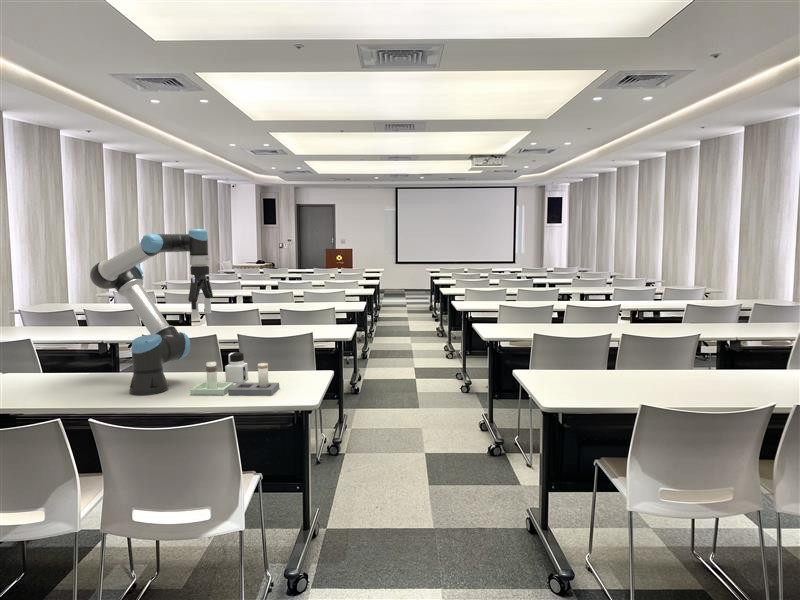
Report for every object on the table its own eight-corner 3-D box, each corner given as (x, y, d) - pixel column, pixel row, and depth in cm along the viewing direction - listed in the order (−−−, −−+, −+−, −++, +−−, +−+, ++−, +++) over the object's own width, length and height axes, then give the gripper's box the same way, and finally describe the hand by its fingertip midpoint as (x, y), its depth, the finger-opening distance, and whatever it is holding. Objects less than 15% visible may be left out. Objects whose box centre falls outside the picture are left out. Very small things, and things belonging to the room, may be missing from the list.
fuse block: (228, 395, 239) (228, 389, 239) (238, 388, 251) (238, 382, 251) (271, 395, 238) (271, 389, 238) (279, 388, 250) (279, 382, 250)
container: (248, 379, 268) (247, 351, 266) (242, 383, 260) (241, 354, 259) (232, 378, 268) (230, 351, 267) (225, 383, 261) (224, 354, 259)
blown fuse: (205, 391, 243) (204, 363, 242) (209, 389, 248) (208, 361, 246) (215, 391, 243) (214, 363, 242) (219, 389, 247) (217, 361, 246)
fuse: (257, 393, 242) (256, 364, 241) (260, 390, 246) (259, 362, 245) (267, 393, 242) (266, 364, 241) (270, 390, 246) (269, 362, 245)
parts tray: (190, 395, 240) (190, 389, 240) (202, 388, 252) (201, 382, 252) (223, 395, 239) (223, 389, 239) (233, 388, 251) (233, 382, 251)
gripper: (196, 266, 235) (198, 318, 237) (219, 264, 260) (221, 311, 262) (178, 267, 235) (180, 318, 237) (202, 264, 260) (204, 311, 262)
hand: (201, 315), depth 250 cm, fingers open, 13 cm apart
